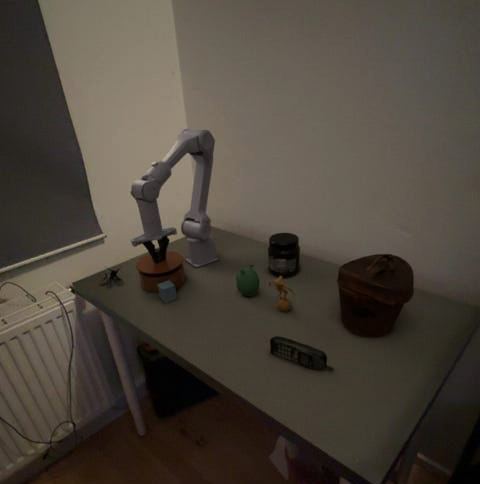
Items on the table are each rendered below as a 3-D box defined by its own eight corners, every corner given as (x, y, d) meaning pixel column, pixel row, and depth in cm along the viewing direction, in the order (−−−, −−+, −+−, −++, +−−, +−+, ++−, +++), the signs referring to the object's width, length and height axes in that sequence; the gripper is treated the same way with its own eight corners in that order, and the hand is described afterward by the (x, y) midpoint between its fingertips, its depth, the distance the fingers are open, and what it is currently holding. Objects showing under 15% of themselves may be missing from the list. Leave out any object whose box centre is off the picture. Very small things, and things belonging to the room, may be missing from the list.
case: (397, 303, 99) (409, 244, 89) (411, 349, 82) (428, 284, 72) (332, 299, 102) (337, 243, 92) (333, 343, 86) (340, 280, 76)
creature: (121, 290, 117) (128, 274, 122) (115, 278, 113) (123, 262, 118) (98, 290, 117) (106, 274, 123) (92, 279, 114) (101, 263, 119)
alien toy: (246, 285, 112) (245, 257, 107) (264, 293, 107) (263, 264, 102) (231, 294, 108) (228, 265, 103) (249, 303, 103) (247, 273, 98)
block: (171, 293, 111) (169, 280, 108) (177, 298, 108) (174, 285, 105) (160, 298, 109) (157, 284, 106) (165, 303, 106) (162, 289, 103)
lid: (171, 249, 123) (169, 236, 120) (192, 265, 112) (189, 250, 109) (129, 263, 116) (126, 249, 113) (147, 280, 105) (143, 265, 102)
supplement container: (290, 261, 124) (290, 229, 118) (305, 274, 116) (306, 240, 109) (263, 267, 121) (262, 235, 115) (276, 281, 113) (276, 247, 106)
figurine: (300, 311, 98) (302, 273, 92) (289, 321, 94) (290, 283, 88) (276, 302, 103) (275, 266, 96) (264, 312, 99) (263, 275, 92)
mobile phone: (268, 339, 81) (330, 359, 74) (274, 332, 83) (335, 350, 76) (269, 356, 84) (329, 376, 77) (274, 348, 86) (334, 367, 79)
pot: (170, 264, 128) (168, 251, 125) (196, 285, 114) (194, 270, 111) (133, 277, 121) (129, 263, 118) (155, 301, 107) (152, 286, 104)
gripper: (132, 230, 100) (143, 271, 107) (178, 217, 106) (184, 257, 114) (124, 223, 105) (134, 264, 112) (168, 212, 111) (175, 250, 119)
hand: (159, 260), depth 113 cm, fingers closed on lid, 2 cm apart
